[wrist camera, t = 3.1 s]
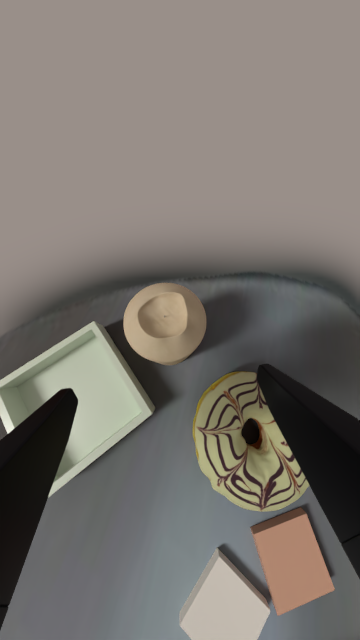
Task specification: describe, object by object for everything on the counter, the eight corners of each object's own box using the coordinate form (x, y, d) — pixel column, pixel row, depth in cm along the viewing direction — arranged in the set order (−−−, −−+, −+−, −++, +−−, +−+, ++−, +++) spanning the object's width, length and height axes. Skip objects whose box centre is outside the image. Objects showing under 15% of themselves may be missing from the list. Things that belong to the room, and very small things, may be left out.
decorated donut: (241, 519, 15) (261, 566, 12) (171, 414, 18) (169, 427, 14) (316, 438, 17) (353, 457, 14) (244, 353, 19) (260, 349, 16)
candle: (170, 308, 20) (166, 255, 11) (203, 341, 20) (230, 314, 10) (135, 340, 19) (95, 311, 10) (168, 376, 18) (160, 384, 9)
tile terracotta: (322, 572, 15) (334, 589, 14) (269, 595, 14) (278, 615, 13) (296, 502, 16) (306, 513, 15) (247, 522, 16) (253, 534, 14)
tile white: (262, 591, 14) (270, 611, 13) (228, 661, 13) (233, 689, 12) (215, 541, 15) (219, 556, 14) (179, 603, 14) (179, 625, 13)
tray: (155, 407, 17) (152, 413, 15) (59, 484, 15) (37, 505, 13) (103, 326, 20) (93, 320, 17) (13, 385, 18) (-12, 387, 15)
